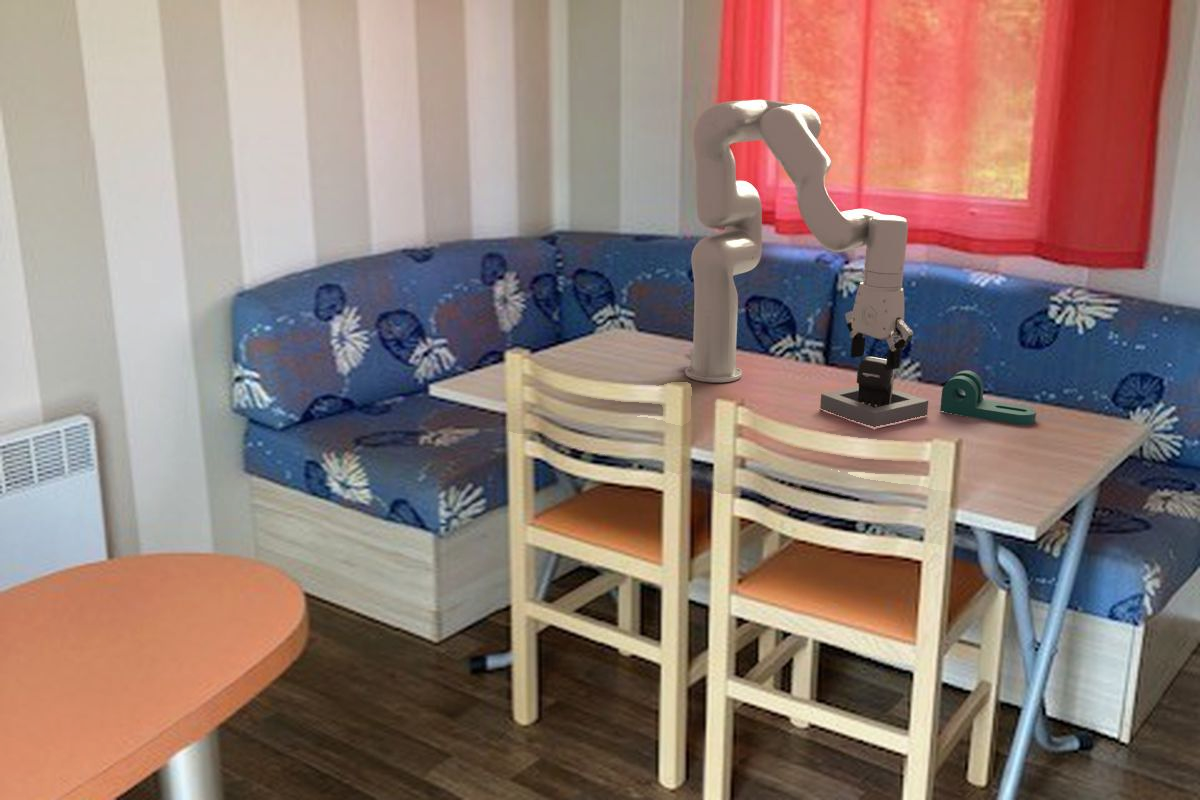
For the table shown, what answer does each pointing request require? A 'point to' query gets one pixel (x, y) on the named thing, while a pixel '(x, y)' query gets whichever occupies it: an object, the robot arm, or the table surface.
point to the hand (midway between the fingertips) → (874, 362)
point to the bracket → (980, 402)
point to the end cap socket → (850, 408)
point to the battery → (874, 382)
